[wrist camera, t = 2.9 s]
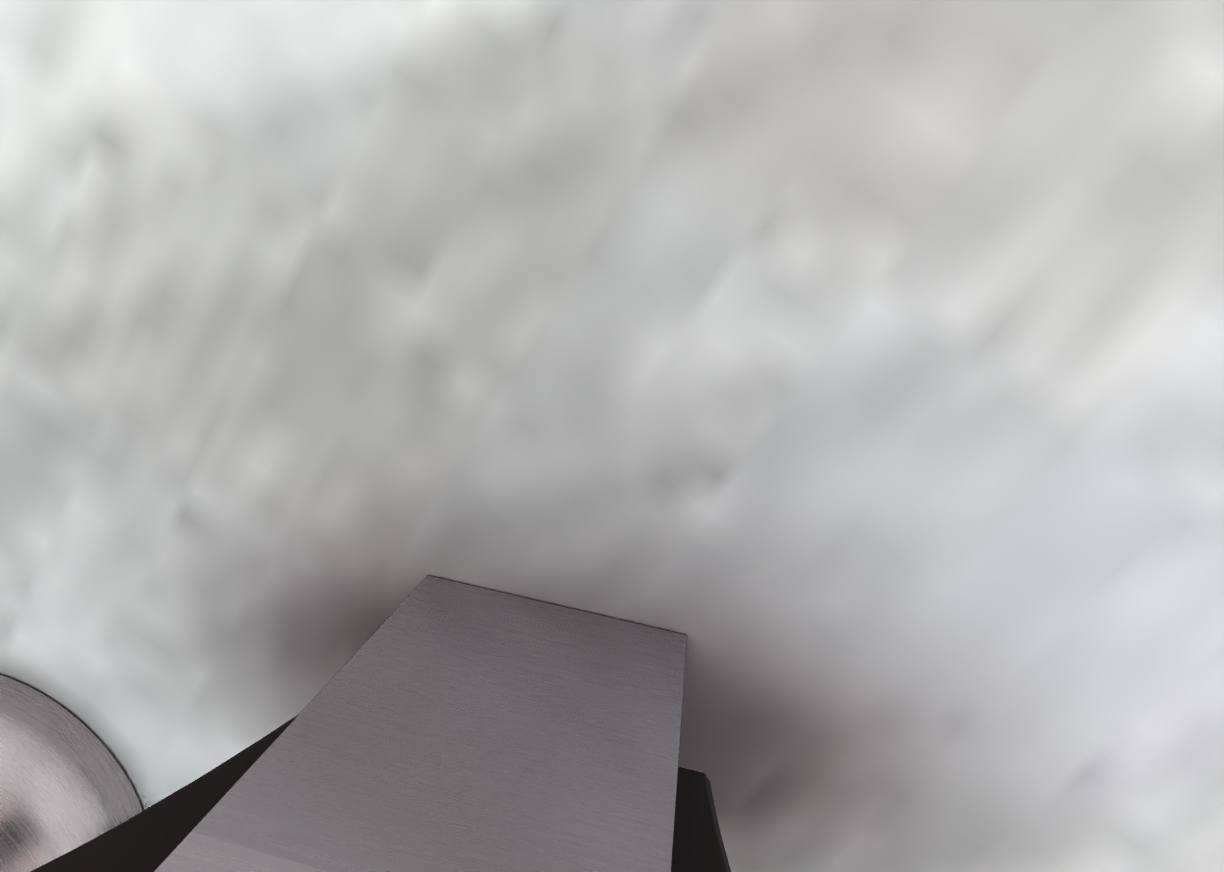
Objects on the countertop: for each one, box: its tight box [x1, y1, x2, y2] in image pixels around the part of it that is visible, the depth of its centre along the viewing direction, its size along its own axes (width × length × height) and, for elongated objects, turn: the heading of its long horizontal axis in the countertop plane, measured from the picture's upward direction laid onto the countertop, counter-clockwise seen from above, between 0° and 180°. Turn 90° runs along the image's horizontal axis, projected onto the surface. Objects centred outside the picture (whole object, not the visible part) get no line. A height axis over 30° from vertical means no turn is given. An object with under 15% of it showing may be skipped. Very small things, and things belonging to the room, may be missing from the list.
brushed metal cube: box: [154, 575, 687, 872], centre depth 8 cm, size 5×5×6 cm
